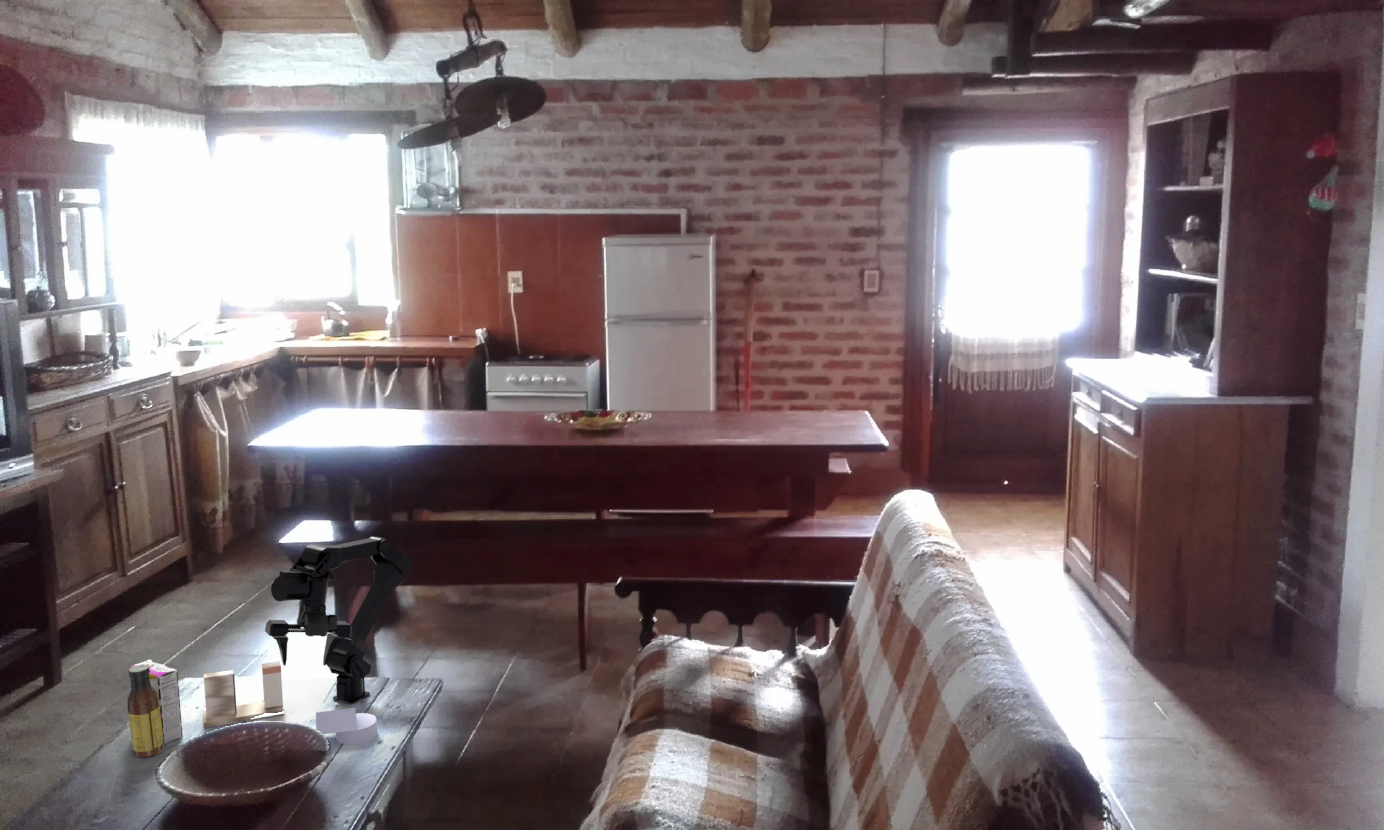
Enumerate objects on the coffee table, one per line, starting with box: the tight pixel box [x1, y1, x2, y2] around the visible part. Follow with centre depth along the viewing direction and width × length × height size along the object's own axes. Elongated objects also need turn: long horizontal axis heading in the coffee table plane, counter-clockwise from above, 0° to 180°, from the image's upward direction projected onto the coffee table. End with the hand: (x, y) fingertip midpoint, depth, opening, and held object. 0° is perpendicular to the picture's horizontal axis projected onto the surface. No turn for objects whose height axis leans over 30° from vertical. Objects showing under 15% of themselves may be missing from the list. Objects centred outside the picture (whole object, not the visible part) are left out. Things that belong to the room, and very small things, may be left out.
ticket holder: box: [202, 669, 285, 729], centre depth 260 cm, size 18×7×11 cm, turn 115°
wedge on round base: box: [315, 707, 378, 745], centre depth 250 cm, size 9×7×13 cm
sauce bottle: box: [127, 665, 164, 758], centre depth 240 cm, size 6×6×20 cm
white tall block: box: [261, 661, 284, 708], centre depth 262 cm, size 4×3×10 cm
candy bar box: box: [130, 659, 184, 745], centre depth 249 cm, size 11×5×16 cm, turn 58°
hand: (304, 665), depth 257 cm, fingers open, 9 cm apart
